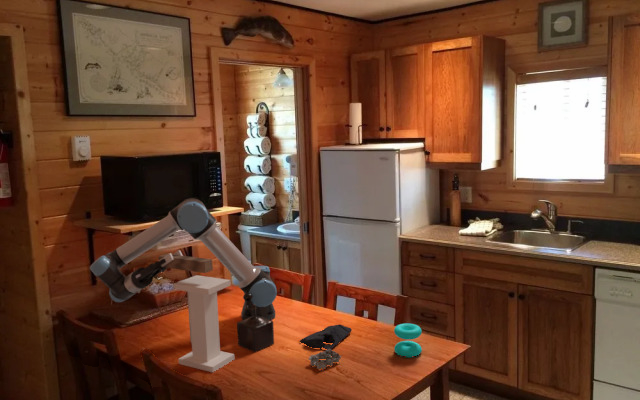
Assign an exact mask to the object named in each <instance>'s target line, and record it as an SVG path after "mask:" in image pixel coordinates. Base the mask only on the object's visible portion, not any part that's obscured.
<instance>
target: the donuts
mask: <svg viewBox="0 0 640 400" xmlns="http://www.w3.org/2000/svg"><path fill="white" fill-rule="evenodd" d="M393 332H394V335H395V336H396V337H398V338H399V339H401V340H402V339H403V341H399V342H396V344H395V345H394V350H393V351H394V352H395V353H397V354H396V355H397V356H399V355H401V356H400V357H402V356H406V357H405V358H413V357H412V356H416V357H418V356H419V354H420V353H421V354H422V351H423V348H422V347H421V344H419V343H418V342H415V341H413V340H416V339H417V338H419V337H421V335H422V328H421V327H420V326H419V325H417V324H414V323H407V322H406V323H400V324H397V325H396V326H395V327H394V329H393ZM421 354H420V355H421ZM417 355H418V356H417Z"/></svg>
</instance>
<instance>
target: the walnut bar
mask: <svg viewBox="0 0 640 400" xmlns="http://www.w3.org/2000/svg"><path fill="white" fill-rule="evenodd" d="M168 254H169V253H164V254H160V255H158V261H159V260H160V259H162V258H163V257H165V256H166V255H168ZM171 254H172V256H173V258H174V260H172V261H171V262H169V263H168V264H166V265H165V266H163V267H165V268H167V269H174V270H180V271H181V270H182V271H187V272H194V273H201V274H202V273H203V274H206V273H210V272H212V271H213V270H214V269H213V259H212V258H206V257H205V258H204V257H196V256H195V257H194V256H190V255H189V256H188V255H183V256H181V255H173V254H174V253H171Z"/></svg>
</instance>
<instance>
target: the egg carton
mask: <svg viewBox="0 0 640 400" xmlns="http://www.w3.org/2000/svg"><path fill="white" fill-rule="evenodd" d="M331 356H332V357H331ZM341 358H342V355H340V354H339V352H336V351H335V350H332V349H330V348H329V349H327V350H324V351H323V350H322V351H320V352H319V353H316V354H310V356H309V358H308V361H310V366H311V365H312V366H314V365H315V366H317V367H316V369H317V368H318V369H321V368H322V369H324V368H325V369H326V368H327V367H326V366H327V365H330V366H331V365H332V366H333V365H334V364H333V362H339V360H340V359H341ZM319 359H326V360H320V361H319ZM318 361H319V362H318ZM339 363H340V362H339Z"/></svg>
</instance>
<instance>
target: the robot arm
mask: <svg viewBox="0 0 640 400" xmlns="http://www.w3.org/2000/svg"><path fill="white" fill-rule="evenodd" d="M217 221H218V220H217V219H216V217H214V215H213V214H212V213H211V212H210V211H209V209H207V208H206V205H205V203H203V202H202V201H201V200H200V199H197V198H193V197H191V198H187V199H184V200H183V201H182V202H180V203H179V204H178V205H177V206H175V207H174V208H173V209H171V210H170V211H169V212H168V214H167V216H165V217H163V218H162V219H160V220H159V221H158V222H155V223H154V224H153V225H151V226H149V227H148V228H146V229H145V230H143V231H142V232H140V233H139V234H137V235H135V236H134V237H133V238H131V239H130V240H128V241H127V242H125V243H124V244H122V245H119V246H118V247H117V248H116V249H114V250H113V251H110V252H108V253H106V254H105V255H100V257H98V258H97V259H95V261H94V262H93V263H92V264H90V266H89V270H90V271H91V272H92V273H93V275H94V276H95V277H97V278H98V279H99V280H100V281H101V282H102V283H103V284H104V285H105V286H106V287H107V288H108V289H109V292H108V293H109V297H110V299H111V300H112V301H113V302H115V303H122V302H124V301H127V300H129V299H130V298H132V297H133V296H134V295H136V294H140V293H141V290H143V289H145V288H146V287H148V286H150V285H151V284H152V282H153V280H154V278H155V277H157V275H159V274H160V273H164V272H165V271H166V270H168V268H165V267H163V266H165V265H166V264H168V263H169V262H171V261H172V260H174V258H173V256H172V254H173V255H181V256H184V255H183V253H182V251H181V250H180V249H178V250H177V251H175V252H174V253H172V252H170V253H167V254H168V255H166V256H165V257H163V258H162V259H160V260H159V259H158V261H155V262H152V263H149V265H148V266H146V267H144V266H143V267H142V266H141V267H139V268H137V269H135V270H134V271H132V272H130V273H129V274H128V275H125V274H124V273H123V272H122V270H120V269H122V268H123V267H125V266H126V265H128V263H130V262H133V260H135V259H137V258H138V257H139V256H141V255H143V254H144V253H146V252H147V251H149V250H151V249H152V248H154V247H156V245H158V244H159V243H161V242H163V241H164V240H166V239H167V238H169V237H170V236H172V235H174V234H175V233H176V232H178V231H181V232H182V231H185V232H186V233H188V234H189V235H190V236H191V238H193V240H195V241H197V240H198V241H201V243H203V245H204V246H205V247H207V249H208V250H209V251H210V253H212V254H213V255H214V257H216V258H217V260H218V261H219V263H221V264H222V266H224V267H225V269H227V270H228V272H230V274H231V275H232V276H233V277H234V279H236V280H237V281H238V287H239V289H240V290H241V291H242V292H243V296H244V295H245V294H246V293H251V294H252V295H253V298H252V300H251V301H252V303H253V304H255V305H256V315H258V316H260V314H262V317H265V318H267V319H268V320H271V321H273V320H274V319H275V318H276V310H275V306H274V304H273V302H274V301H275V299H276V298H277V295H278V292H277V291H278V290H277V286H276V284H275V283H274V282H273V280H272V278H271V275H270V274H271V270H270V267H269V266H267V265H253V264H252V263H251V262H250V261H249V260H248V258H246V256H245V255H244V254H243V253H242V252H241V251H240V250H239V248H238V247H236V246H235V244H234V243H233V242H232V241H231V240H230V239H229V237H228V236H226V235H225V233H224V232H223V231H222V230H221V229H220V228H219V226H218V225H217ZM253 304H251V305H250V306H248V308H253V306H252V305H253ZM245 306H246V301H245V300H244V303H243V305H242V309H241V311H240V312H241V313H240V314H241V316H240V317H241V321H243V320H245V319H248V318H250V317H252V316H253V310H246V309H245Z"/></svg>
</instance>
